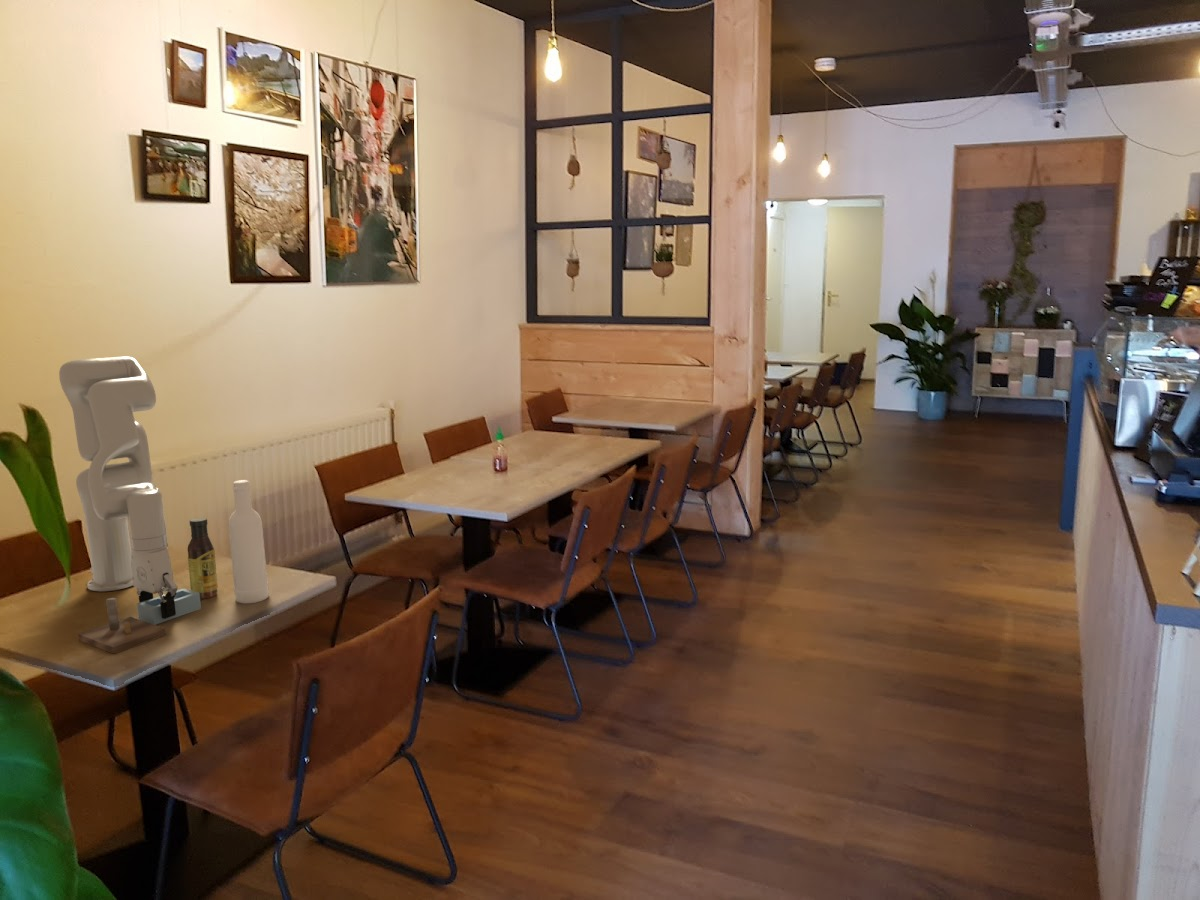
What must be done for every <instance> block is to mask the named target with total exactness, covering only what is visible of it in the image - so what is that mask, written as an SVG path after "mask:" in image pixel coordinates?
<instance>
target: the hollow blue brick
mask: <svg viewBox="0 0 1200 900" xmlns="http://www.w3.org/2000/svg"><path fill="white" fill-rule="evenodd" d="M166 594H167V593H164V595H166ZM161 602H162V601H161V598H160V596H159V595H158V596H156V597H153V599H150V600H147V601H144V602H140V603H139V602H138V603H136V607H137V608H136V609H137V615H138V619H139V620H142V621H145V622H148V623H151V624H153V625H156V626H157V625H158V624H161V623H164V622H167V621H170V620H173V619H175V618H179V617H182V616H183V615H187V614H189V613H193V612H196V611H198V610H201V609H202V606H201V599H200V593H198V592H195V591H191V589H188V588H185V587H184V588H180V589H177V591H176V596H175V599H174V602H175V611H176V615H174V616H171V617H169V618H166V619H163V618H162V615H161V606H160V603H161Z"/></svg>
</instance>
